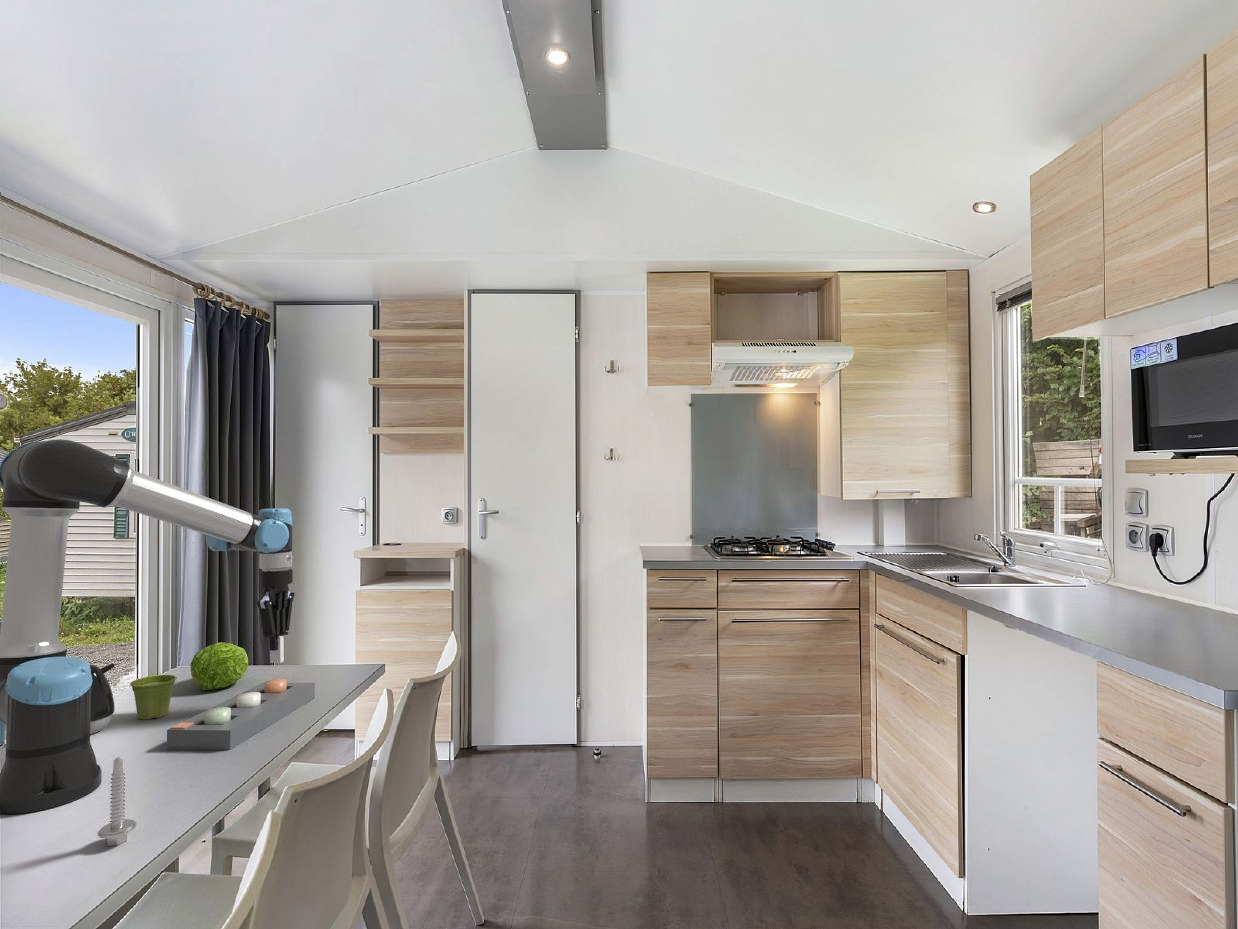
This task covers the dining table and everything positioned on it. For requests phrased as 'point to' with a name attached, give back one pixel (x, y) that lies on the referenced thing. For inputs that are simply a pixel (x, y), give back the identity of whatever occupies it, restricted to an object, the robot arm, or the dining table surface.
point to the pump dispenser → (100, 699)
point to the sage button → (217, 716)
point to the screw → (117, 810)
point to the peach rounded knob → (275, 686)
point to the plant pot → (153, 695)
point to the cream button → (248, 700)
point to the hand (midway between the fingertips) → (277, 662)
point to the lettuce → (218, 666)
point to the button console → (239, 719)
